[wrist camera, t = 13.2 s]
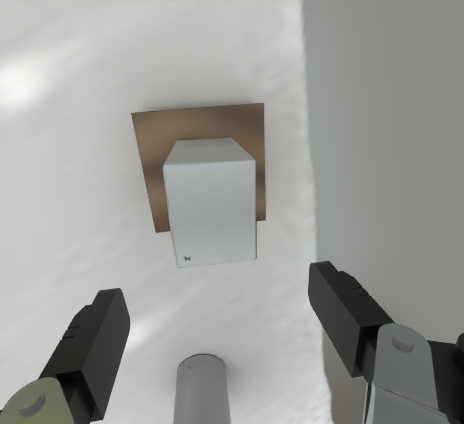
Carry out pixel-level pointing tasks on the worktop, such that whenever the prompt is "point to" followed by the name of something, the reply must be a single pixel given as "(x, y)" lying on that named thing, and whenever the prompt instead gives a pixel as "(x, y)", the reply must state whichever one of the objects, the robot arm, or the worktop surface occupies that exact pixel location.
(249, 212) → the small box
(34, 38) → the worktop surface
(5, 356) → the worktop surface
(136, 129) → the walnut stand
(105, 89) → the worktop surface
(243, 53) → the worktop surface
